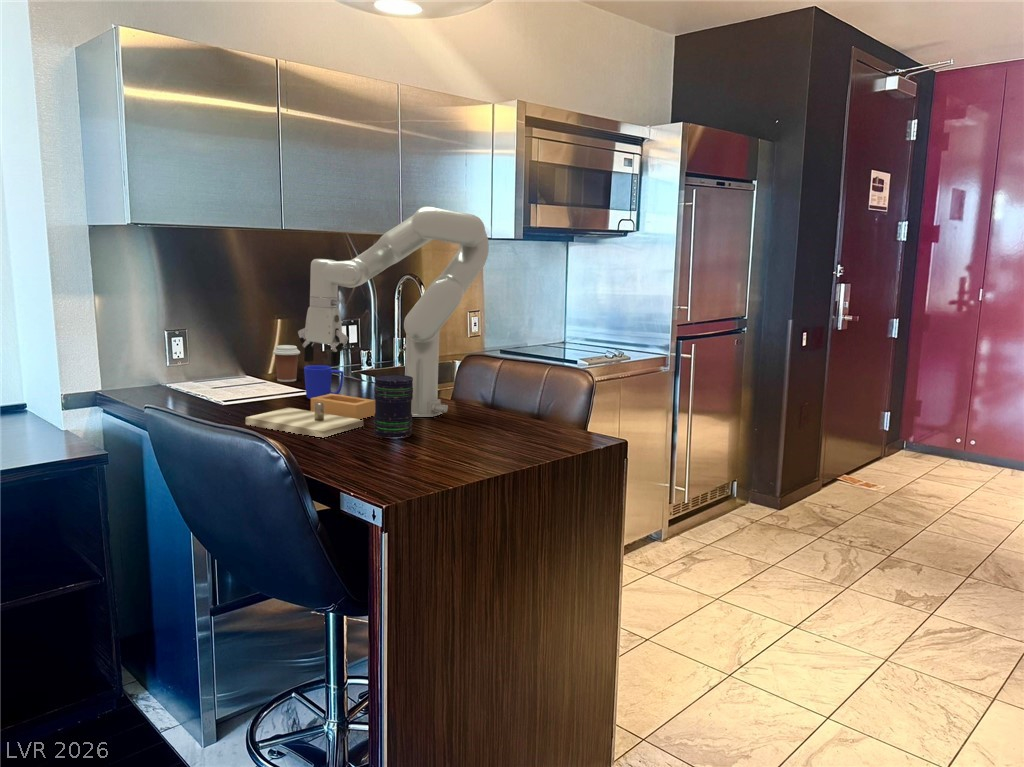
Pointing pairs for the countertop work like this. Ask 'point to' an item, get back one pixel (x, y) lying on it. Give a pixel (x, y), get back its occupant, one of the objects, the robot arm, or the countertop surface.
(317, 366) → the mug
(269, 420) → the backing board
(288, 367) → the coffee cup
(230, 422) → the countertop surface
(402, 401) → the storage jar
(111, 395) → the countertop surface
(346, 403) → the orange rectangular frame
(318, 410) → the round metal post
